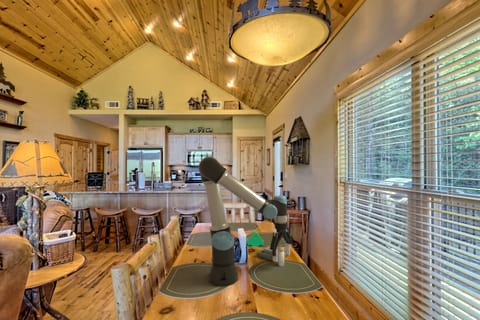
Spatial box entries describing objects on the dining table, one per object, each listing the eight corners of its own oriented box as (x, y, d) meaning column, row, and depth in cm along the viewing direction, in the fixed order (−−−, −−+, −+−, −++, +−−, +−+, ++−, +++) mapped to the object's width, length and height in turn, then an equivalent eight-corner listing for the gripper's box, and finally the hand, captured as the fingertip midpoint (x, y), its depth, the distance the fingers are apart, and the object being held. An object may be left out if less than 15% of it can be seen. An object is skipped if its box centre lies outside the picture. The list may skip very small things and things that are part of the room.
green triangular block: (262, 243, 192) (262, 229, 192) (263, 246, 185) (263, 232, 185) (246, 243, 192) (246, 229, 192) (247, 246, 185) (247, 232, 185)
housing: (275, 262, 156) (275, 254, 156) (257, 256, 165) (257, 248, 165) (287, 255, 166) (287, 247, 166) (269, 250, 175) (269, 243, 175)
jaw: (282, 266, 149) (282, 249, 149) (277, 265, 151) (276, 248, 151) (285, 264, 152) (285, 248, 152) (280, 263, 154) (280, 246, 154)
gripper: (274, 227, 140) (275, 266, 140) (297, 218, 158) (297, 253, 158) (263, 225, 145) (263, 262, 145) (286, 217, 163) (287, 250, 163)
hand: (281, 257), depth 151 cm, fingers open, 13 cm apart
